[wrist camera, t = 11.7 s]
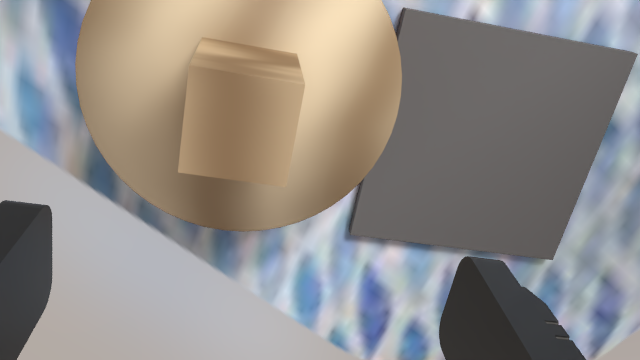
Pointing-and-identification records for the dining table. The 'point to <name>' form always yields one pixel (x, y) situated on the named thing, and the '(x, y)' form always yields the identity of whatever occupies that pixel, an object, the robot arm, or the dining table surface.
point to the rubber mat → (489, 136)
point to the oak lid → (239, 102)
